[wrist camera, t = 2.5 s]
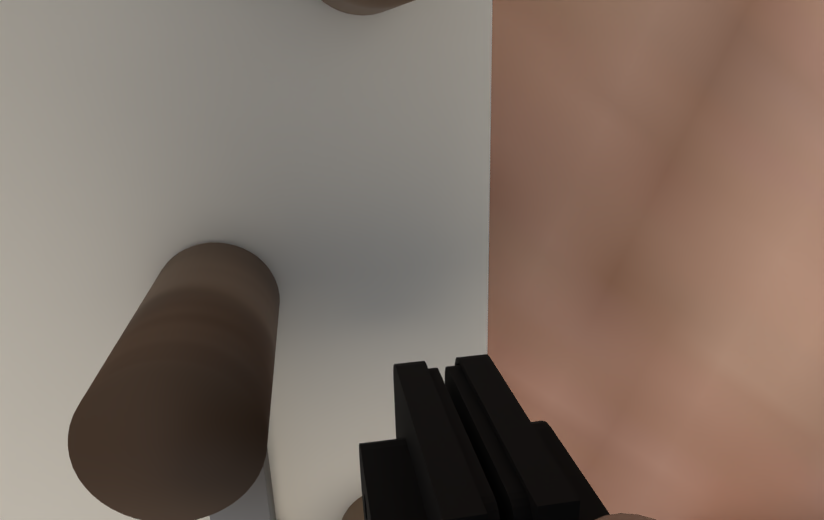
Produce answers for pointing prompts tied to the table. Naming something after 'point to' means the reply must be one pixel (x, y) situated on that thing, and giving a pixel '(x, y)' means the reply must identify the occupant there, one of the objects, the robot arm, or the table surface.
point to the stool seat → (241, 210)
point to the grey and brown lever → (186, 395)
